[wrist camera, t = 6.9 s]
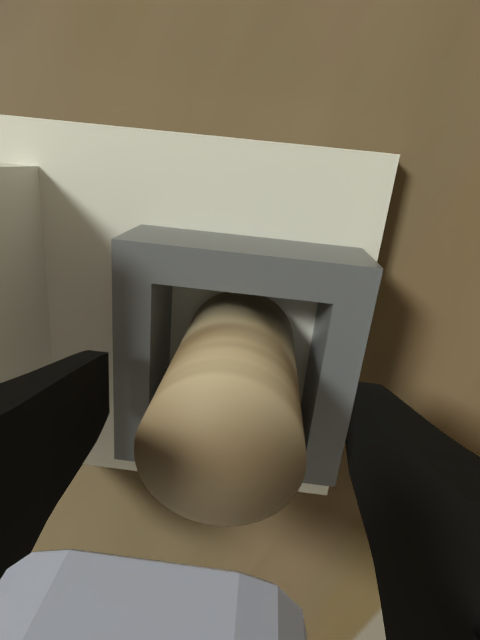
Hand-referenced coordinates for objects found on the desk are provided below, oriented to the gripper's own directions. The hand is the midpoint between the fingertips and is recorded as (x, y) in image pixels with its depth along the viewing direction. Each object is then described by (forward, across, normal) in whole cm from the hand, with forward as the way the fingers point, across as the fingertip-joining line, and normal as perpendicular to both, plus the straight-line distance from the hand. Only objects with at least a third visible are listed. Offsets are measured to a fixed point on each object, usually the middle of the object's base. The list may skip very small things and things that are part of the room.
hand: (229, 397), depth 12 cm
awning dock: (+5, +2, 0) cm, 6 cm away
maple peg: (+4, 0, 0) cm, 4 cm away
